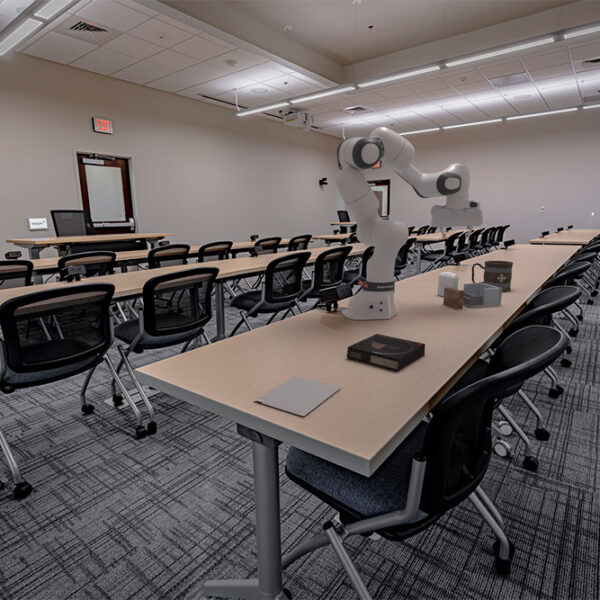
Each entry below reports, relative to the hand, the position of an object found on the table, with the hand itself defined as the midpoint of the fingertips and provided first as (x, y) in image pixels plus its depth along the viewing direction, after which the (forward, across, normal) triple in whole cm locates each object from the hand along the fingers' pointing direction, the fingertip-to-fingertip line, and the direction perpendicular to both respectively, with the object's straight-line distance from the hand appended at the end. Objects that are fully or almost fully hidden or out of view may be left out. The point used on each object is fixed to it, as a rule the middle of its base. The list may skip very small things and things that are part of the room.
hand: (455, 237), depth 171 cm
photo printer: (+31, 0, +24) cm, 39 cm away
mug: (+32, +24, +46) cm, 61 cm away
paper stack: (+29, -49, -92) cm, 109 cm away
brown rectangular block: (+31, 0, +2) cm, 31 cm away
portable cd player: (+30, -26, -68) cm, 79 cm away
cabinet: (+31, +11, +10) cm, 34 cm away
